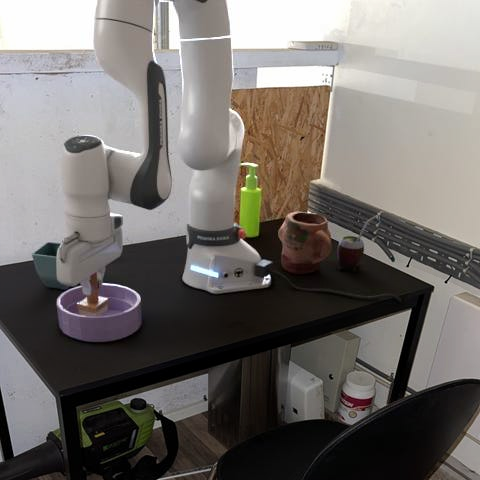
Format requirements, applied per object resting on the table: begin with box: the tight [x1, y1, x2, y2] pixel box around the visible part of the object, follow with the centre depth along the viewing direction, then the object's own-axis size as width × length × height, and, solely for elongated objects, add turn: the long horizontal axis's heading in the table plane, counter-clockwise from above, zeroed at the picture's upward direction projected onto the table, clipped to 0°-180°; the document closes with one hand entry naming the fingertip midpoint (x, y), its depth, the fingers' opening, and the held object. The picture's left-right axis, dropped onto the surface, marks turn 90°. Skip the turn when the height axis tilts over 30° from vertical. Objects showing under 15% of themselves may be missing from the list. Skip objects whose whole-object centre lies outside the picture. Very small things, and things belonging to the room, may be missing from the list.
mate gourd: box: [336, 214, 379, 273], centre depth 169 cm, size 8×8×15 cm
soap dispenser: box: [239, 162, 262, 238], centre depth 188 cm, size 6×7×20 cm
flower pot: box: [31, 241, 71, 290], centre depth 154 cm, size 9×9×9 cm
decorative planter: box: [277, 211, 333, 275], centre depth 167 cm, size 20×12×14 cm, turn 36°
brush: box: [77, 272, 109, 316], centre depth 136 cm, size 6×4×10 cm
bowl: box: [56, 283, 143, 343], centre depth 138 cm, size 17×17×6 cm
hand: (93, 290), depth 136 cm, fingers closed on brush, 2 cm apart
